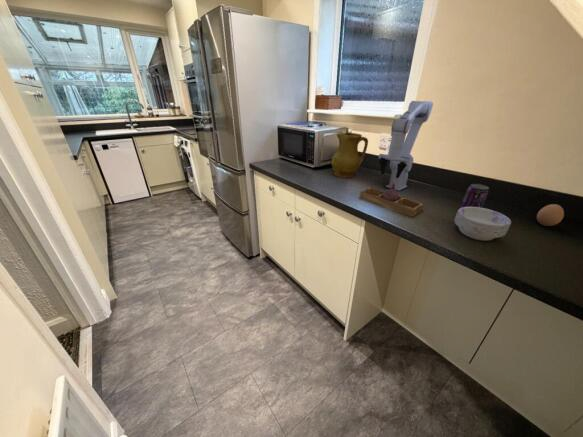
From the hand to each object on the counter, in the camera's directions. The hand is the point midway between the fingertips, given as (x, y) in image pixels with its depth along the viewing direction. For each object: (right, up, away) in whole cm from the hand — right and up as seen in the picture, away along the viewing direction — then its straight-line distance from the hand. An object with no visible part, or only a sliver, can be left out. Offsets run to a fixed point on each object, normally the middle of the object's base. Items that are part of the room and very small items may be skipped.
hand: (389, 175), depth 113 cm
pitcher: (-14, +6, +32) cm, 36 cm away
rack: (-3, -14, -6) cm, 16 cm away
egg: (+52, -24, -22) cm, 61 cm away
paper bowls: (+19, -27, -28) cm, 43 cm away
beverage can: (+29, -18, -12) cm, 37 cm away
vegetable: (-3, -14, -6) cm, 15 cm away
